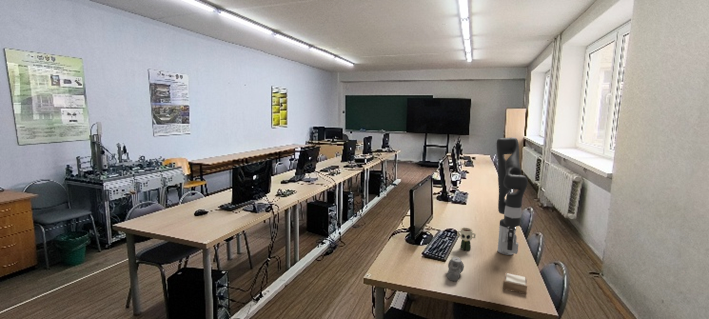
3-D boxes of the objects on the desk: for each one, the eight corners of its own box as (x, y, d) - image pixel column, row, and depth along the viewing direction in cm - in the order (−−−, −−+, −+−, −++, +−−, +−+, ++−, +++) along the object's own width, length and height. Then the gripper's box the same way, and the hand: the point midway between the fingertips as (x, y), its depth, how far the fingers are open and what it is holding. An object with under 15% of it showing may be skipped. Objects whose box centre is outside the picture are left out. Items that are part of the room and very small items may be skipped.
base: (504, 279, 171) (505, 272, 170) (526, 284, 166) (526, 276, 166) (503, 288, 162) (504, 280, 161) (526, 294, 157) (527, 285, 157)
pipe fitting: (448, 268, 181) (450, 252, 178) (463, 273, 178) (465, 256, 175) (443, 281, 171) (445, 263, 168) (459, 286, 167) (461, 268, 164)
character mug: (455, 249, 208) (456, 229, 206) (457, 245, 214) (458, 226, 212) (474, 252, 203) (475, 232, 202) (474, 248, 210) (476, 229, 208)
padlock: (518, 251, 163) (519, 232, 162) (516, 254, 160) (518, 235, 159) (502, 248, 167) (504, 229, 166) (501, 251, 164) (502, 231, 163)
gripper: (505, 210, 169) (502, 241, 171) (503, 217, 156) (500, 251, 159) (521, 212, 165) (518, 244, 168) (520, 220, 153) (517, 255, 155)
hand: (509, 248), depth 163 cm, fingers closed on padlock, 4 cm apart
